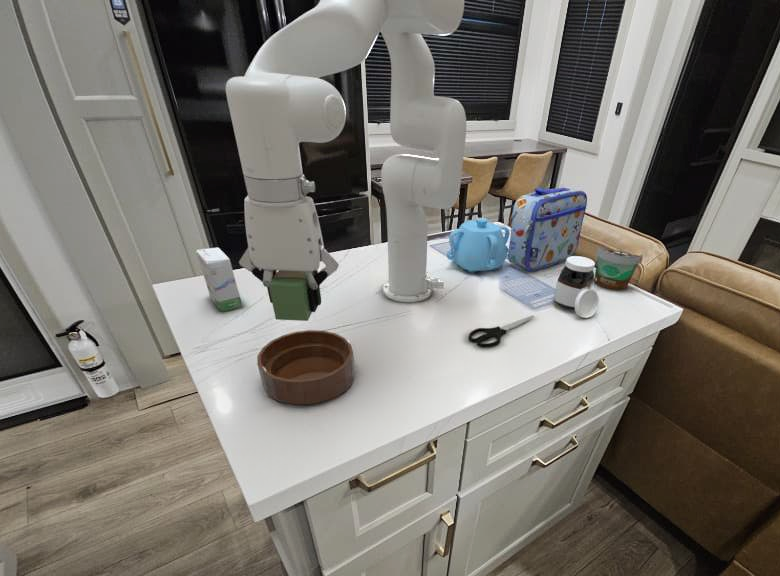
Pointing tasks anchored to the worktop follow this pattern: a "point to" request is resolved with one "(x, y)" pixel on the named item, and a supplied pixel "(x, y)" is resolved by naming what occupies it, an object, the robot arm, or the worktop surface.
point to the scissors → (494, 333)
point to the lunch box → (546, 227)
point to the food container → (615, 268)
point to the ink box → (219, 278)
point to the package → (290, 296)
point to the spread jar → (577, 287)
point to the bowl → (306, 366)
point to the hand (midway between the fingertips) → (297, 306)
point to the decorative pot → (478, 245)
